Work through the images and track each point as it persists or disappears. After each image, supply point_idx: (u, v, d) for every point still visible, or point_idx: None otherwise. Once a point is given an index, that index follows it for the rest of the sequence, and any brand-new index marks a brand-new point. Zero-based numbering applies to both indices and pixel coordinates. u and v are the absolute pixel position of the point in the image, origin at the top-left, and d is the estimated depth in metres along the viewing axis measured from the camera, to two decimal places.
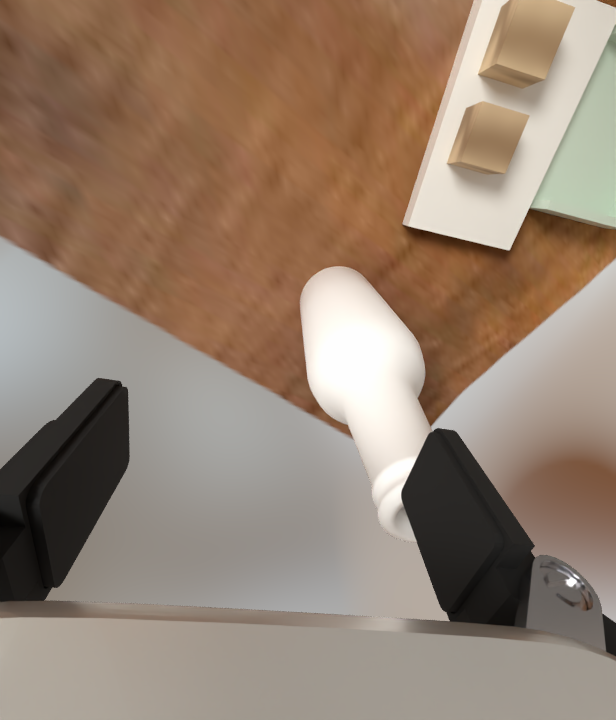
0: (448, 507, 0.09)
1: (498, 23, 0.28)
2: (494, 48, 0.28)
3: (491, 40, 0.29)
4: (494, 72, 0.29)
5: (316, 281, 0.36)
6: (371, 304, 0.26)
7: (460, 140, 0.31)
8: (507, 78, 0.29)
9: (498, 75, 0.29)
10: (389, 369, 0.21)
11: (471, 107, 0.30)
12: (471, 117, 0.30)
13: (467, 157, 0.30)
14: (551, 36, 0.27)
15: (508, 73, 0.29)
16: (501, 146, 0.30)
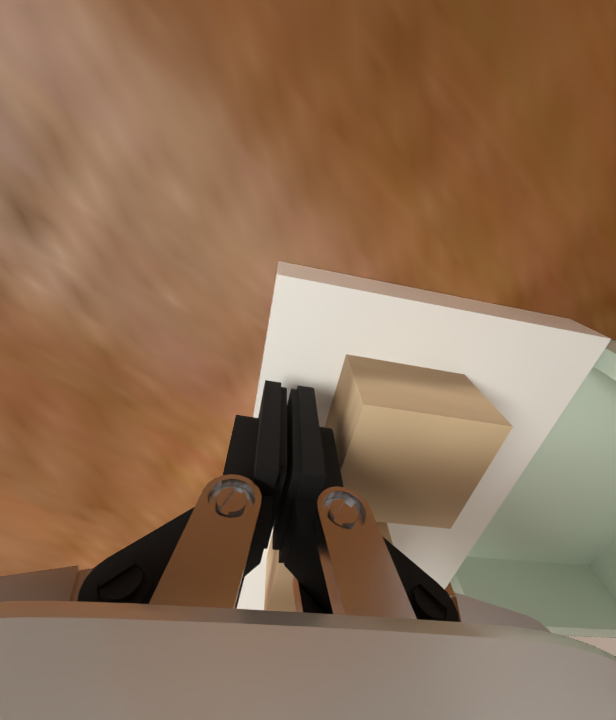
0: None
1: (339, 393, 0.12)
2: None
3: (331, 417, 0.12)
4: None
5: None
6: None
7: (271, 561, 0.15)
8: None
9: None
10: None
11: None
12: (277, 550, 0.13)
13: None
14: (456, 472, 0.10)
15: None
16: None
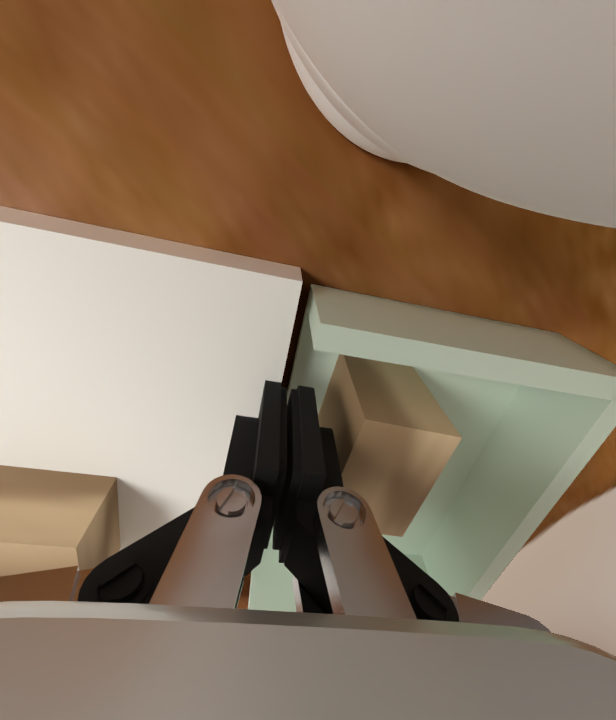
0: None
1: (370, 456, 0.10)
2: (379, 505, 0.11)
3: (355, 482, 0.10)
4: None
5: None
6: None
7: None
8: None
9: None
10: None
11: None
12: None
13: None
14: None
15: None
16: None
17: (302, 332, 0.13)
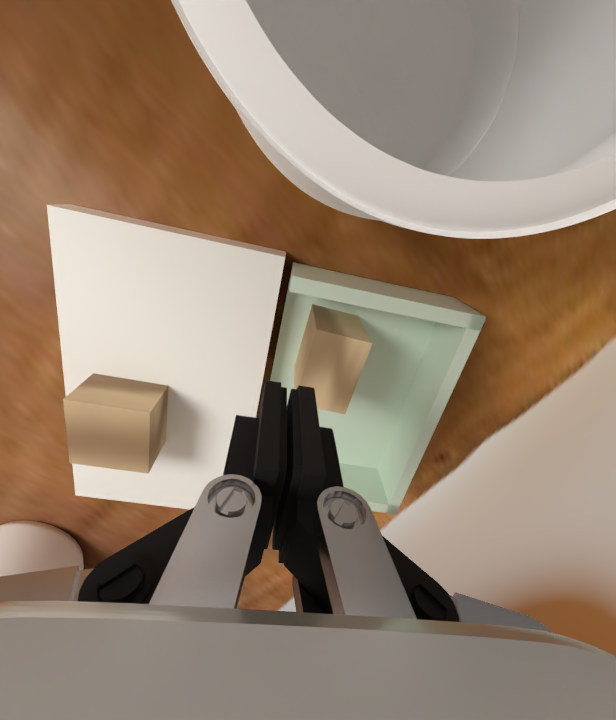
0: None
1: (321, 354, 0.17)
2: (328, 389, 0.18)
3: (313, 372, 0.18)
4: None
5: None
6: None
7: None
8: None
9: None
10: None
11: None
12: None
13: (77, 458, 0.20)
14: None
15: None
16: (125, 446, 0.20)
17: (287, 292, 0.21)
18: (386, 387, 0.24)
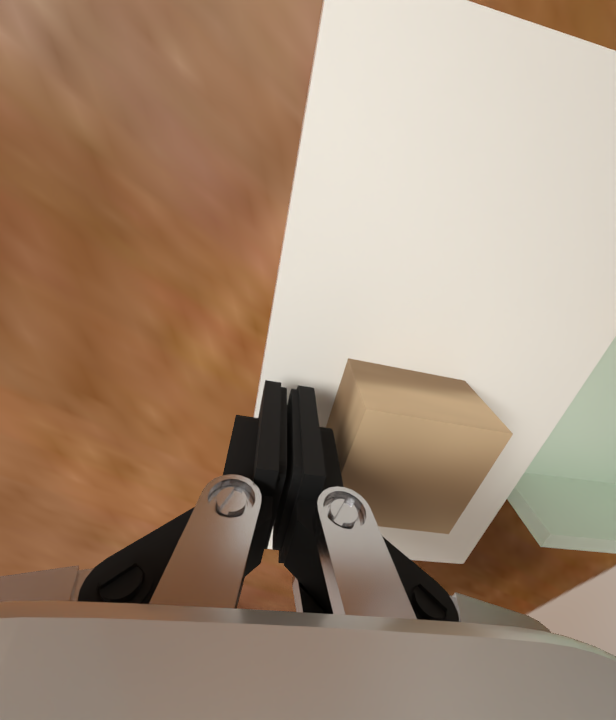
0: None
1: None
2: None
3: None
4: None
5: None
6: None
7: None
8: None
9: None
10: None
11: (352, 379, 0.11)
12: (348, 415, 0.10)
13: None
14: None
15: None
16: (435, 491, 0.11)
17: None
18: None
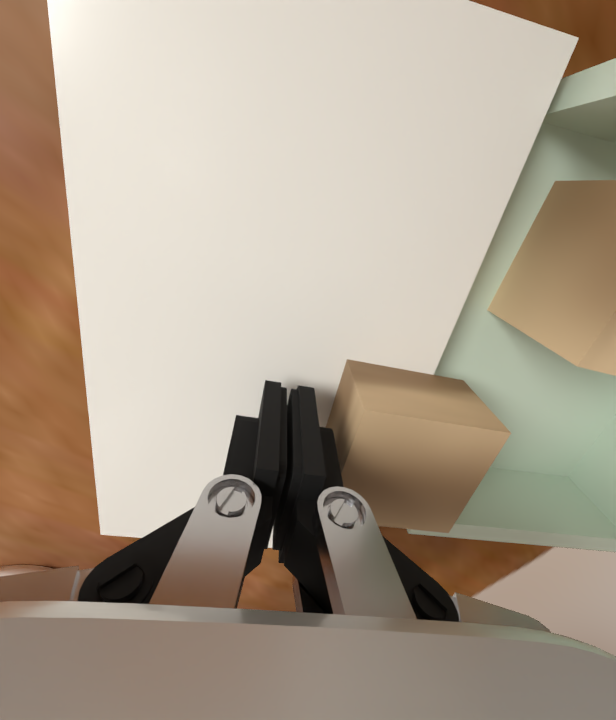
0: None
1: None
2: None
3: None
4: None
5: None
6: None
7: None
8: None
9: None
10: None
11: (351, 380, 0.11)
12: (348, 416, 0.11)
13: None
14: None
15: None
16: (434, 491, 0.11)
17: None
18: None
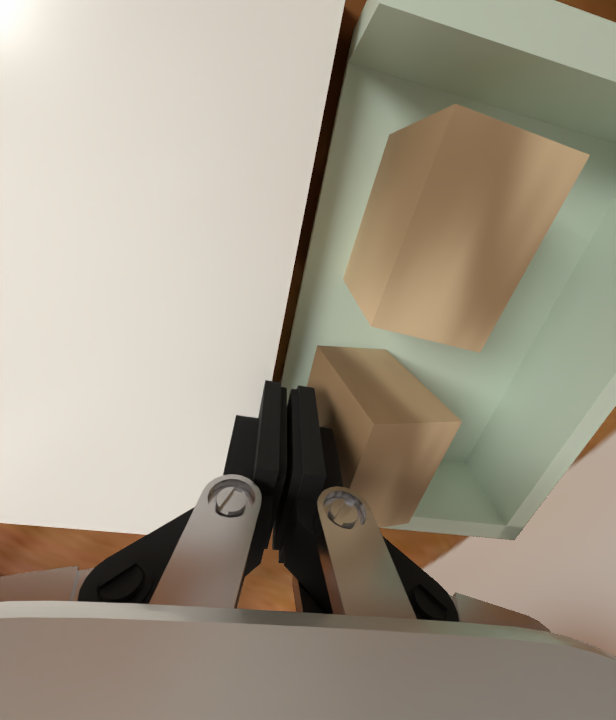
0: None
1: (454, 188, 0.07)
2: (456, 289, 0.08)
3: (427, 242, 0.07)
4: None
5: None
6: None
7: (384, 492, 0.10)
8: None
9: None
10: None
11: (409, 427, 0.09)
12: (420, 449, 0.10)
13: None
14: None
15: None
16: None
17: (340, 105, 0.10)
18: (505, 319, 0.13)
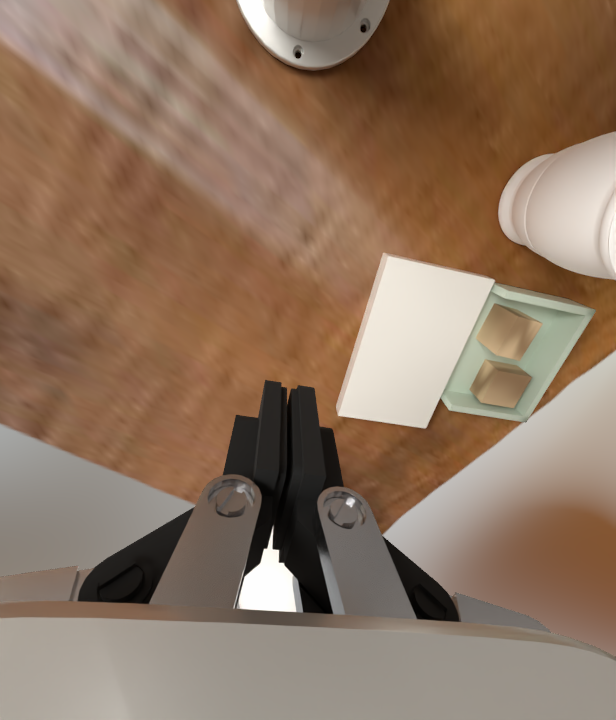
0: None
1: (516, 329, 0.35)
2: (515, 347, 0.36)
3: (510, 338, 0.36)
4: None
5: None
6: None
7: None
8: None
9: None
10: None
11: None
12: None
13: None
14: None
15: None
16: None
17: None
18: None
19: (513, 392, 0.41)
